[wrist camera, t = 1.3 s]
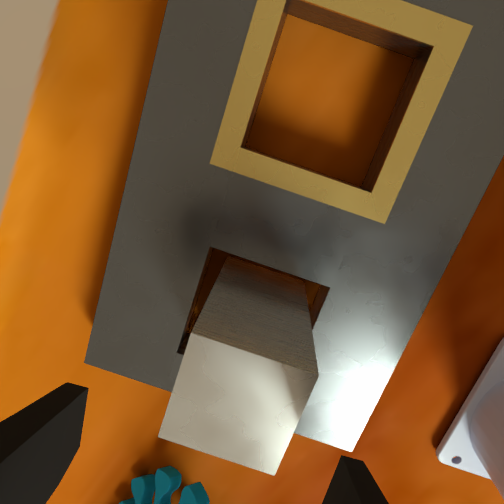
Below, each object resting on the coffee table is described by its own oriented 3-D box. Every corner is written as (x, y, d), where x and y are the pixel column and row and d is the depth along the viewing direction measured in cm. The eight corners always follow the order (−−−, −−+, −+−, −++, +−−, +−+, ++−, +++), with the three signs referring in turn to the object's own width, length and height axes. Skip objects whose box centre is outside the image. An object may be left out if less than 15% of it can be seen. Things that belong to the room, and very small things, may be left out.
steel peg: (304, 281, 19) (319, 375, 11) (277, 348, 20) (274, 475, 12) (228, 255, 19) (190, 332, 11) (205, 324, 20) (157, 436, 12)
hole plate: (536, 35, 15) (575, 19, 13) (345, 423, 21) (352, 454, 19) (205, -83, 15) (193, -118, 13) (102, 342, 21) (82, 364, 19)
